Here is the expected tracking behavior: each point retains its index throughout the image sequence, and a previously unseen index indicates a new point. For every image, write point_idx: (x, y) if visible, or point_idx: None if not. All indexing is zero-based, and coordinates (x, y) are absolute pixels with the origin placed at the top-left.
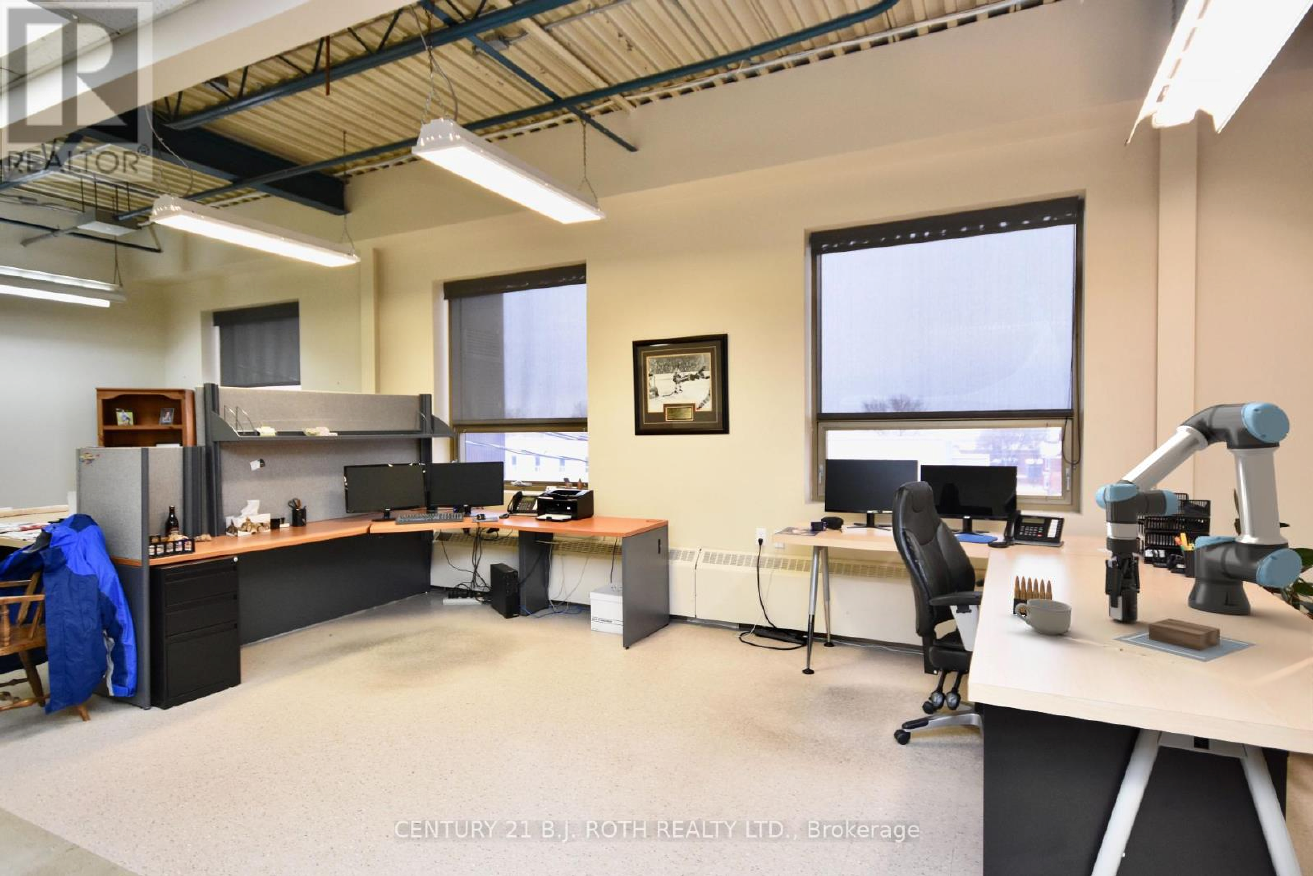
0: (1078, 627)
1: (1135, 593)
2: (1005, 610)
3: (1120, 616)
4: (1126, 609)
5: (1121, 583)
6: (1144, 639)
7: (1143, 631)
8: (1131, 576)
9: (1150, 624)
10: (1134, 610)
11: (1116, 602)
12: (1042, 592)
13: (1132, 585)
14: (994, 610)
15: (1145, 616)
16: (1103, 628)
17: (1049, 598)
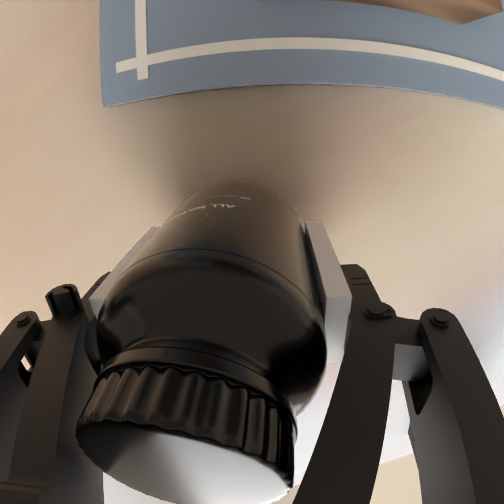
0: (452, 291)
1: (196, 251)
2: (392, 450)
3: (323, 228)
4: (291, 227)
5: (335, 409)
6: (482, 36)
7: (360, 78)
8: (57, 439)
9: (500, 5)
10: (241, 196)
11: (363, 285)
12: None
13: (76, 358)
14: (411, 452)
15: (34, 262)
16: (394, 240)
17: None
